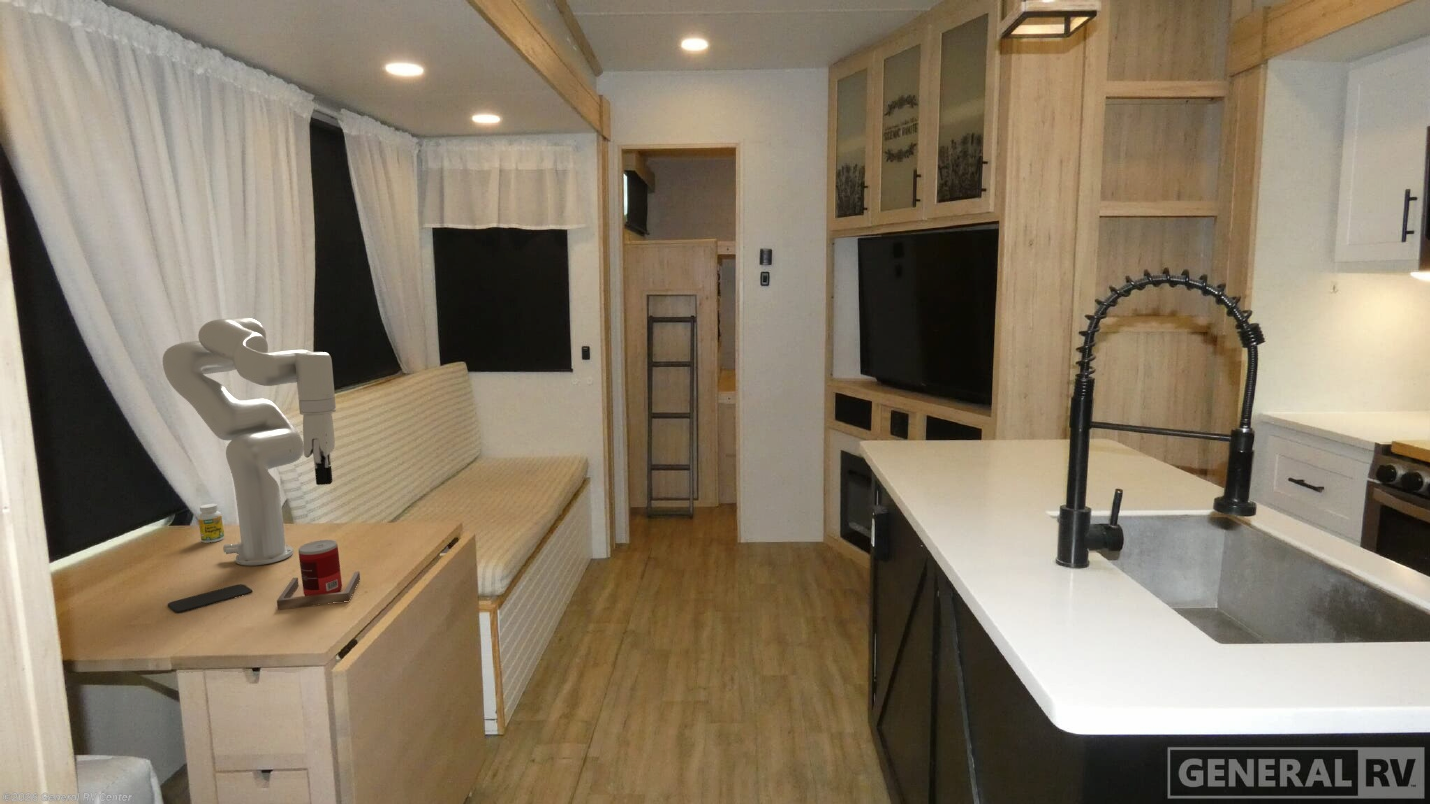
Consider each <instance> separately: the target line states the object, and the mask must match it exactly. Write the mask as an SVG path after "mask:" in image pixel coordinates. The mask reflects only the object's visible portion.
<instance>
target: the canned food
mask: <svg viewBox="0 0 1430 804" xmlns="http://www.w3.org/2000/svg"><path fill="white" fill-rule="evenodd" d="M339 554H340V553H339V547H338V542H337V541H336V540H333V539H321V540H320V539H319V540H315V541H311V542H308V543H305V544H303V545H301V546H299V548H298V559H299V566H300V567H299V568H300V574H301V583H302V584H301V585H302V591H303V596H310V595H319V594H329V593H339V592H342V589H343V583H342V573H341V564H340V562H341V561H340V555H339Z"/></svg>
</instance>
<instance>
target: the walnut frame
mask: <svg viewBox="0 0 1430 804" xmlns="http://www.w3.org/2000/svg"><path fill="white" fill-rule="evenodd" d="M360 576H361V574H360V571H354V572H353V574H352V576H351V578H350V580H349V582H348V584H347V586H346V588H345V590H344V591H340V592H339V593H329V594H319V595H310V596H305V595H301V596H293V595H294V594H295V592H296V591H297V589H298V588H299V587H300V586H299V577H292V579H291V580H290V581H289V582H288V584H287V585H286V586H285V588H284V590H283V591H282V592H281V594H280V595H279V597H278V598H277V599H276V606H277V607H276V608H277V610H278V611H279V610H287V609H297V608H298V609H299V608H305V607H314V606H313V605H316V606H319V605H318V604H326V605H329V604H328V603H333V602H344V601H349V600H350V601H351V599H352V597H353V595H354V593H355V591H356V589H355V588H357V587H358V585H359V583H360V581H359V580H361V577H360ZM358 582H359V583H358ZM357 584H358V585H357ZM356 586H357V587H356ZM352 594H353V595H352ZM292 596H293V597H292ZM351 596H352V597H351ZM350 598H351V599H350ZM350 601H349V602H350ZM344 603H345V602H344Z"/></svg>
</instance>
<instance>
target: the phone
mask: <svg viewBox="0 0 1430 804" xmlns="http://www.w3.org/2000/svg"><path fill="white" fill-rule="evenodd" d="M252 593H253V589H252V588H250V587H248V586H247V585H246V584H243V583H240V584H235V585H231V586H227V587H221V588H218V589H215V590H212V591H207V592H204V593H200V594H196V595H192V596H188V597H184V598H182V599H181V598H179V599H176V600H174V601H170V602H168V603H167V607H168V608H169V609H170V610H171V611H172V612H173V613H175V614H183V613H188V612H190V611H194V610H197V609H200V608H201V609H202V608H205V607H207V606H211V605H215V604H219V603H222V602H225V601H229V600H233V599H236V598H235V597H237V598H239V596H240V597H243V596H242V595H244V596H247V595H250V594H252Z"/></svg>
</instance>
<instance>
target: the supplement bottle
mask: <svg viewBox="0 0 1430 804" xmlns="http://www.w3.org/2000/svg"><path fill="white" fill-rule="evenodd" d="M218 509H219V508H218V504H217V503H207V504H202V505H201V506H199V511H200V514H198V517H197V520H198V525H199V526H198V527H199V534H200V535H199V536H200V539H201V542H202V543H204V544H209V543H210V542H211V543H217V542H219V541H222V540H223V539H225V532H224V524H223V514H222V513H221V512H220V511H218Z"/></svg>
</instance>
